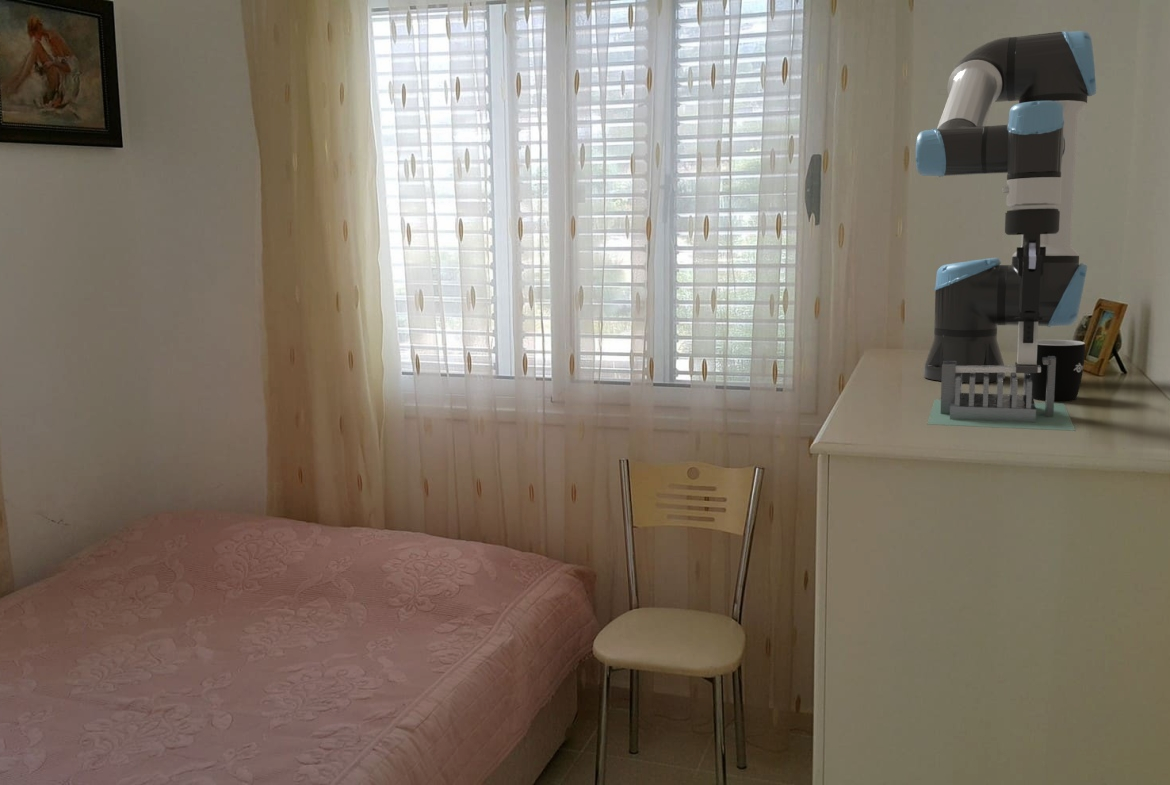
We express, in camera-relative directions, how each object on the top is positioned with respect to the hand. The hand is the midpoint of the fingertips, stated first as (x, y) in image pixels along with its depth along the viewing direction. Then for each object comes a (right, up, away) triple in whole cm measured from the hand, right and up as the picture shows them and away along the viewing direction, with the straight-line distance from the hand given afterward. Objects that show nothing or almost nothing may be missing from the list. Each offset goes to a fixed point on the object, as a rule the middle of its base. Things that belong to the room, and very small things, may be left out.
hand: (1026, 363), depth 156 cm
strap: (-4, -1, +2) cm, 5 cm away
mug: (+12, -6, +17) cm, 22 cm away
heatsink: (-4, -8, +3) cm, 9 cm away
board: (-3, -8, +3) cm, 9 cm away
